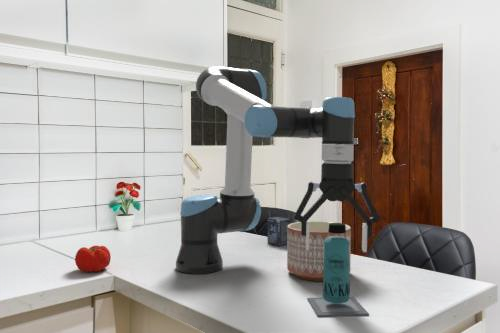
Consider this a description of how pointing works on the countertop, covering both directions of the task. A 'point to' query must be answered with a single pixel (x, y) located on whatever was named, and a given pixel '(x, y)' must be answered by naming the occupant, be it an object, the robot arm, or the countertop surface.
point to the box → (277, 231)
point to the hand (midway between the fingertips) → (335, 250)
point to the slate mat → (337, 308)
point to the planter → (311, 260)
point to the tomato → (92, 258)
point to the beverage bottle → (336, 266)
